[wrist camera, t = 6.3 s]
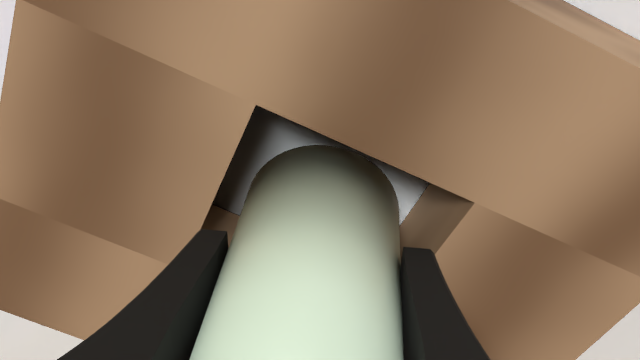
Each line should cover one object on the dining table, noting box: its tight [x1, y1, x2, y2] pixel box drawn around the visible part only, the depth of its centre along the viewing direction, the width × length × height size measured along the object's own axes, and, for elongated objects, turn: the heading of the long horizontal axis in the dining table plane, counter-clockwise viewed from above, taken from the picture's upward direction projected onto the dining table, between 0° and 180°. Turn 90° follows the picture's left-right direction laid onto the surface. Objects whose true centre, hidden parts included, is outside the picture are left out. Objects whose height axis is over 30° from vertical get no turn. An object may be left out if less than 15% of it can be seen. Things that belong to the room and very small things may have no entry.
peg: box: [189, 145, 404, 360], centre depth 12 cm, size 4×4×8 cm
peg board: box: [0, 0, 640, 360], centre depth 16 cm, size 16×14×3 cm
